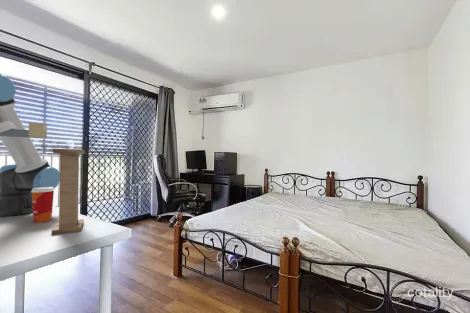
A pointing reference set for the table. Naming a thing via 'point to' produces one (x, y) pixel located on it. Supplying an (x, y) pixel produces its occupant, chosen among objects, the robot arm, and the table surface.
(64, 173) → the stand
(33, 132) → the gray and beige block
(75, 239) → the table surface
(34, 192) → the paper cup
